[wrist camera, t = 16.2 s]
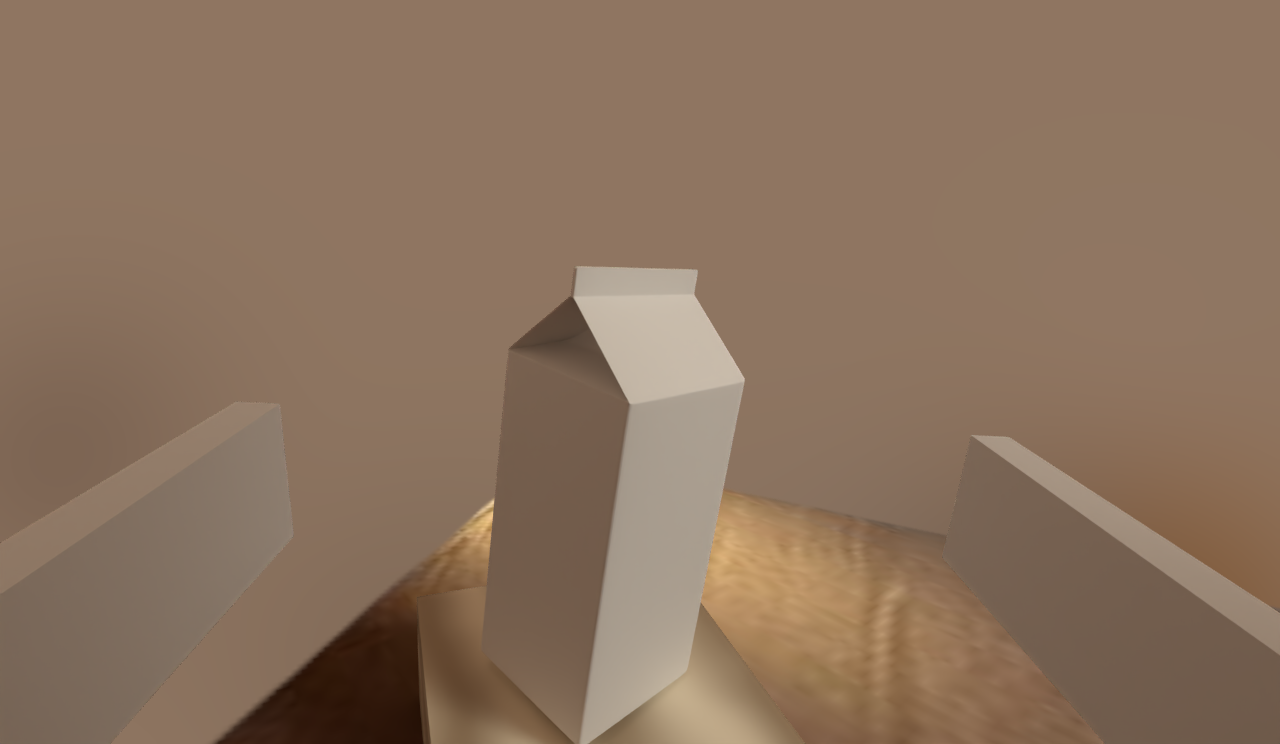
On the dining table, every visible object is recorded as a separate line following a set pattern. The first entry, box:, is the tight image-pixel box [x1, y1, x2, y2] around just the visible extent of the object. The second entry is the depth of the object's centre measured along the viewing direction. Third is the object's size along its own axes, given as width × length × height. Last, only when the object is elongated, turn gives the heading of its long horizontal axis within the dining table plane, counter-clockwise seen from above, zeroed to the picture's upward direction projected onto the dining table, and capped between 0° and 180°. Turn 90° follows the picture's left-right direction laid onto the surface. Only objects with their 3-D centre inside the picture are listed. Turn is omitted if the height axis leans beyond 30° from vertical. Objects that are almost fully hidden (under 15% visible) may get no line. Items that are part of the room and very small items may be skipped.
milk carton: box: [481, 266, 745, 744], centre depth 28 cm, size 7×7×19 cm
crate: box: [417, 586, 805, 744], centre depth 32 cm, size 15×15×7 cm
